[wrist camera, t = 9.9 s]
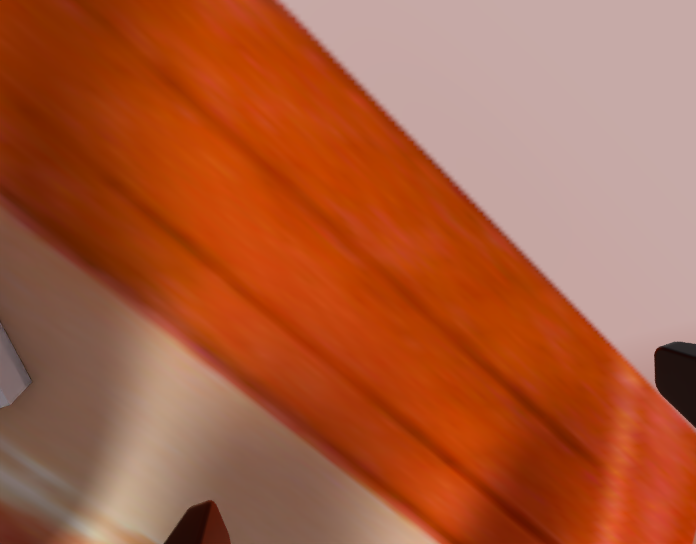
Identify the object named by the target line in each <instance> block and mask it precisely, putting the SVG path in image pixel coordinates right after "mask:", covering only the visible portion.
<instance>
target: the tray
mask: <svg viewBox="0 0 696 544" xmlns="http://www.w3.org/2000/svg"><path fill="white" fill-rule="evenodd" d="M31 383H32V381H31V379H30V377H29V375H28V373H27V371H26V369H25V368H24V366H23V364H22V362H21V360H20V358H19V356H18V354H17V353H16V351H15V349H14V347H13V345H12V343H11V341H10V339H9V338H8V336H7V334H6V332H5V330H4V328H3V326H2V325H1V323H0V408H2V407H5V406H9V405H11V404H12V403H13V401H14V400H15V399H16V398H17V397H18V396H19V395H20V394H21V393H22V392H23V391H24V390H25V389H26V388H27V387H28V386H29V385H30V384H31Z"/></svg>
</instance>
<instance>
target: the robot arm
mask: <svg viewBox="0 0 696 544" xmlns="http://www.w3.org/2000/svg"><path fill="white" fill-rule="evenodd" d="M654 358H655V359H654V360H655V383H656V387H657V389H658V391H659V392H660V393H661V395H662V396H663V397H664V398H665V399H666V400H667V401H668V402H669V403H670V404H672V405H673V406H674V407H675V408H676V409H677V410H678V411H679V412H680V413H681V414H682V415H683V416H684V417H685V418H686V419H687V420H688V421H689V422H690V423H691V424H692V425H693V426H694V427H695V428H696V344H692V343H685V342H672V343H669V344H666V345H664V346H660V347H659V348H657V349H656V351H655V354H654ZM164 544H231V542H230V537H229V534H228V531H227V529H226V526H225V524H224V522H223V519H222V517H221V515H220V512H219V510H218V508H217V505H216V504H215V503H214V501H211V500H208V501H205V502H202V503H199V504H197V505H194V506H192V507H190V508H189V509H188V510H187V511H186V513H185V514H184V516H183V517H182V518H181V520H180V521H179V523H178V524H177V526H176V527H175V528H174V530H173V531H172V533H171V534H170V535H169V537H168V538H167V540H166V541H165V543H164Z"/></svg>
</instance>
